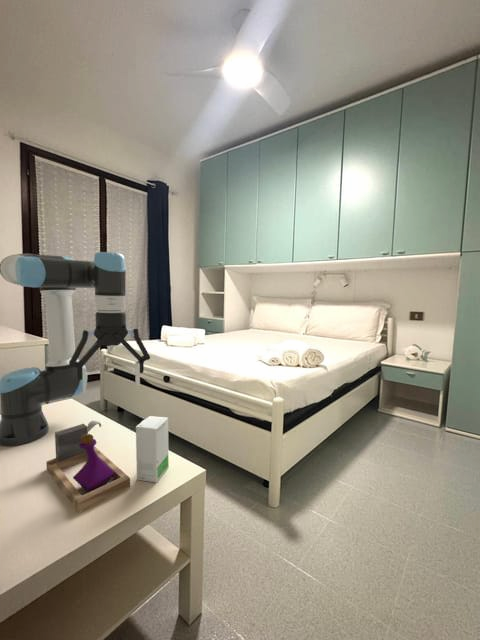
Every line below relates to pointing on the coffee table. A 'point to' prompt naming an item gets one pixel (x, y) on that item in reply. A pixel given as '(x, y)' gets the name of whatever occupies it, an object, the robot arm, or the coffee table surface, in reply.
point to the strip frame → (73, 454)
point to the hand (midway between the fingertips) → (112, 387)
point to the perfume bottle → (92, 464)
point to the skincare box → (152, 448)
